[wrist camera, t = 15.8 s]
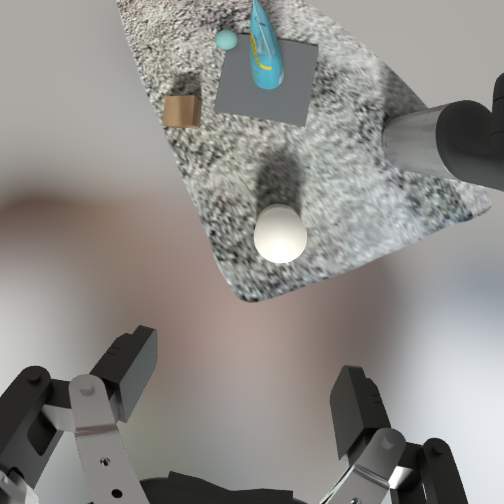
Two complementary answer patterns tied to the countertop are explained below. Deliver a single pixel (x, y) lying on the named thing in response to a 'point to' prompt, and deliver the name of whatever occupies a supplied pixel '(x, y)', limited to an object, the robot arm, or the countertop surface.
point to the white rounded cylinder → (279, 233)
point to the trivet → (268, 100)
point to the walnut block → (182, 111)
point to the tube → (264, 51)
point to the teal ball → (226, 39)
